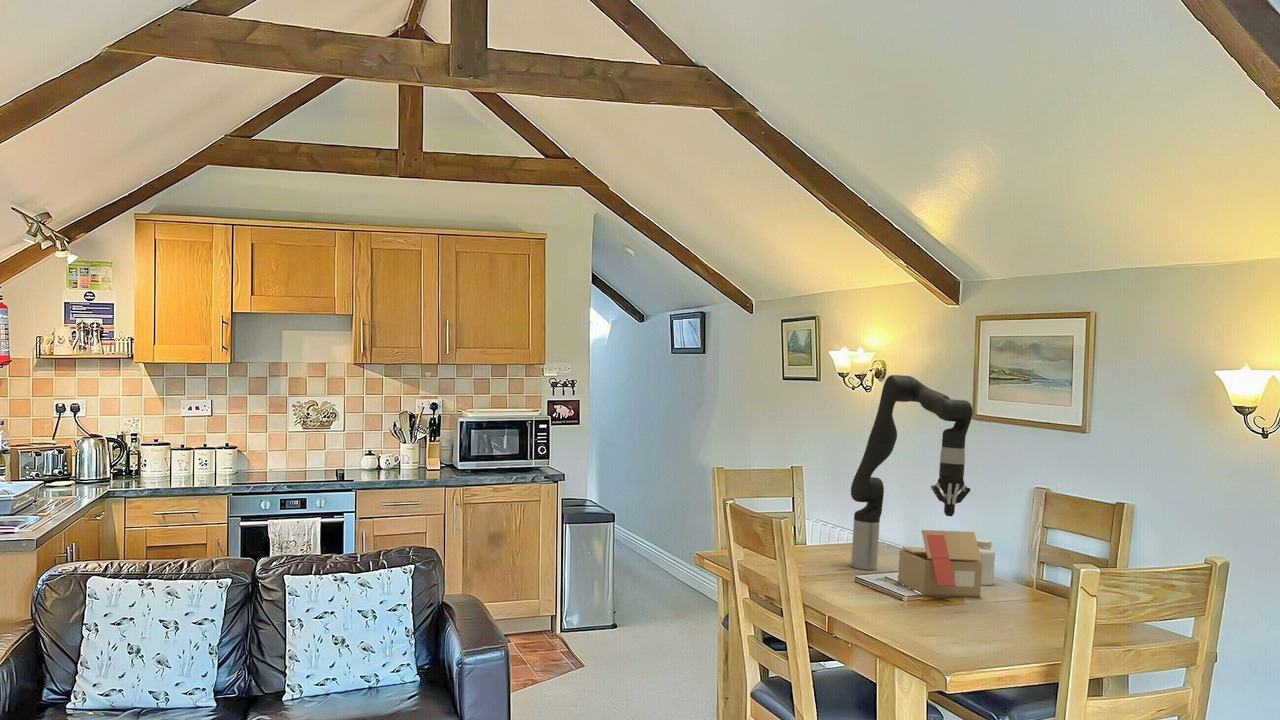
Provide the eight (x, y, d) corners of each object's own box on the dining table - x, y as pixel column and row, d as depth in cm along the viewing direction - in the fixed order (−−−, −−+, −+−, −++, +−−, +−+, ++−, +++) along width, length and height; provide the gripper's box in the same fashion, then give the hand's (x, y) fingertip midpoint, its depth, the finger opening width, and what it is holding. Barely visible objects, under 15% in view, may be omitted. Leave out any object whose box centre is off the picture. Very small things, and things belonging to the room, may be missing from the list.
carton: (897, 582, 332) (900, 546, 332) (952, 584, 335) (954, 548, 336) (923, 595, 313) (925, 557, 314) (980, 597, 317) (982, 559, 317)
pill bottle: (968, 583, 339) (971, 540, 340) (969, 579, 347) (972, 537, 347) (992, 586, 336) (995, 543, 337) (993, 582, 344) (996, 540, 344)
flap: (921, 530, 319) (922, 529, 318) (973, 532, 322) (974, 531, 321) (933, 585, 308) (934, 584, 308) (987, 587, 311) (988, 586, 311)
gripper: (966, 461, 315) (962, 515, 315) (927, 459, 313) (924, 513, 313) (977, 464, 308) (973, 518, 307) (938, 461, 306) (934, 516, 306)
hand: (948, 515), depth 310 cm, fingers closed
